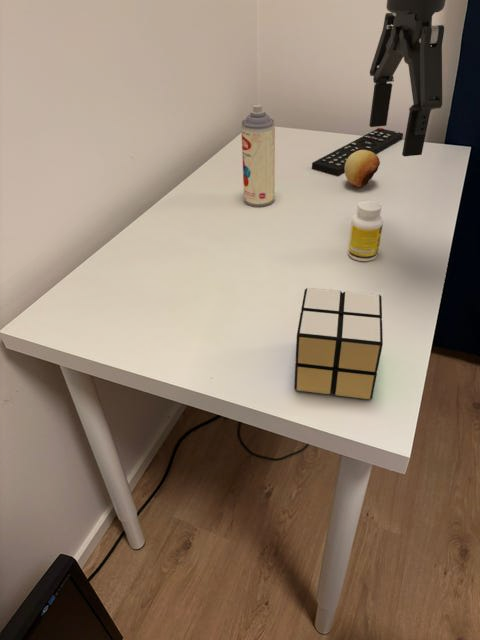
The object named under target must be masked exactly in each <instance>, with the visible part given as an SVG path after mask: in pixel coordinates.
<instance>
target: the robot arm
mask: <svg viewBox="0 0 480 640" xmlns="http://www.w3.org/2000/svg"><path fill="white" fill-rule="evenodd" d="M445 5H446V0H386V10H387V11H388V12H386V13H385V15H384V21H383V27H382V31H381V34H380V37H379V40H378V42H377V43H378V44H377V46H376V49H375V52H374V56H373V60H372V63H371V66H370V69H369V76H370V77H373V79H372V81H373V84H374V86H373V95H372V102H371V109H370V118H369V127H370V128H379V127H387V123H388V117H389V109H390V103H391V98H392V90H393V83H392V82H395V80H394V79H395V78H394V75H395V73H396V71H397V69H398V67H399V65H400V64H401V62H402V60H403V61H404V63H405V64H407V66H408V73H409V81H410V88H411V95H412V103H413V104H412V105H411V106H410V107H409V108H408V110H409V111H408V112H409V113H408V118H407V124H406V130H405V136H404V141H403V147H402V153H401V156H403V157H413V156H414V157H415V156H422V154H423V149H424V144H425V139H426V134H427V131H428V125H429V119H430V116H431V112H432V111H433V110H437V109H441V108H442V106H443V41H444V36H445V26H444V25H443V24H437V25H433V16H434V15H435V13H440V12H441V11H443V10H444V8H445V7H446V6H445Z"/></svg>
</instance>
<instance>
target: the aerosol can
mask: <svg viewBox="0 0 480 640" xmlns="http://www.w3.org/2000/svg"><path fill="white" fill-rule="evenodd" d="M252 106H253V107H252V108H253V109H252V111H251V112H250V113H249V114H248V115H247V116H246V117H245V119H243V120H242V121H241V127H240V128H241V129H240V130H241V153H242V155H241V156H242V157H241V158H242V180H243V181H242V183H243V203H244V204H245V205H247V206H249V207H252V208H264V207H265V208H266V207H268V206H271V205H272V204H274V202H275V193H276V192H275V187H276V186H275V185H276V181H275V180H276V178H275V177H276V173H275V172H276V125H275V120H274V119H273V118H271V117H270V116H269V114H267V113H266V112H265V111H264V110H263V105H262V104H254V105H252Z"/></svg>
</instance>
